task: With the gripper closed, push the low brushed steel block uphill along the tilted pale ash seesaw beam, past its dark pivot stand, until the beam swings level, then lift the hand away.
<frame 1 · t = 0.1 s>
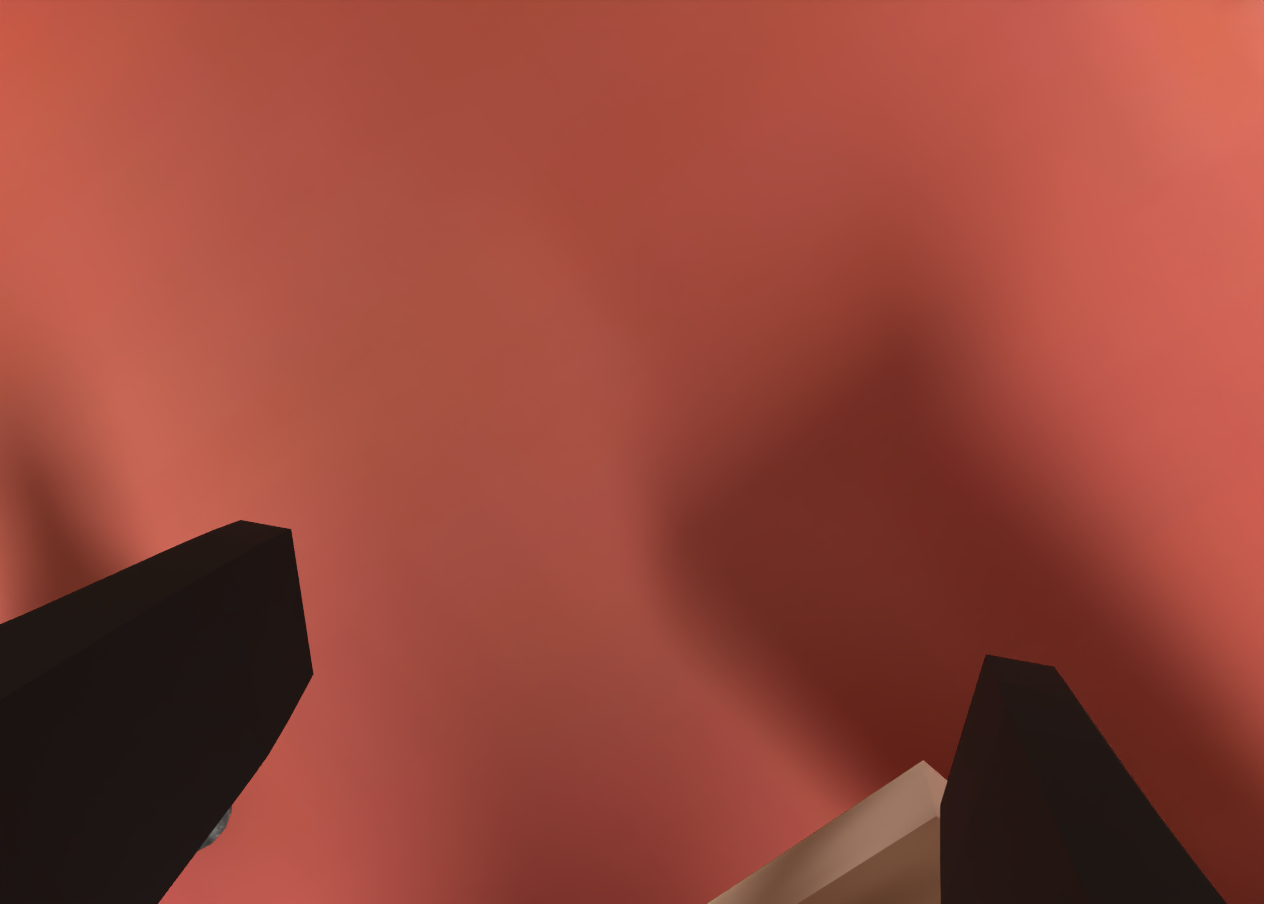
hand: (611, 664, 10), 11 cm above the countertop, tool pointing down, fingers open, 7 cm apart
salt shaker: (154, 771, 27), on the countertop
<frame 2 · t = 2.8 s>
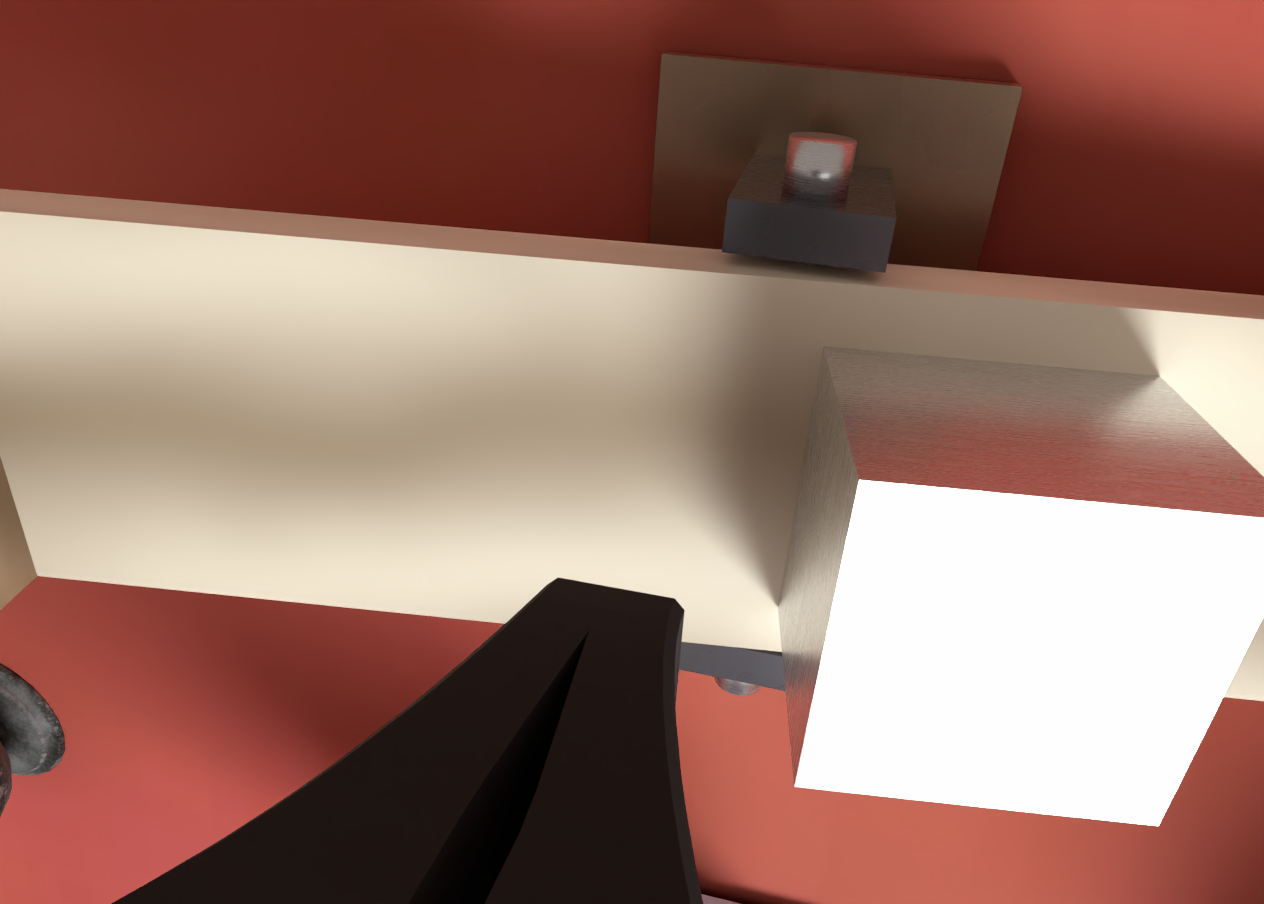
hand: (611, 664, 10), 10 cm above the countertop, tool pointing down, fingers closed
steel block: (952, 501, 15), point 4 cm above the countertop, tilted 8°, touching beam
beam: (855, 497, 15), point 4 cm above the countertop, hinge at 8.2°, touching steel block
pivot stand: (787, 382, 19), on the countertop
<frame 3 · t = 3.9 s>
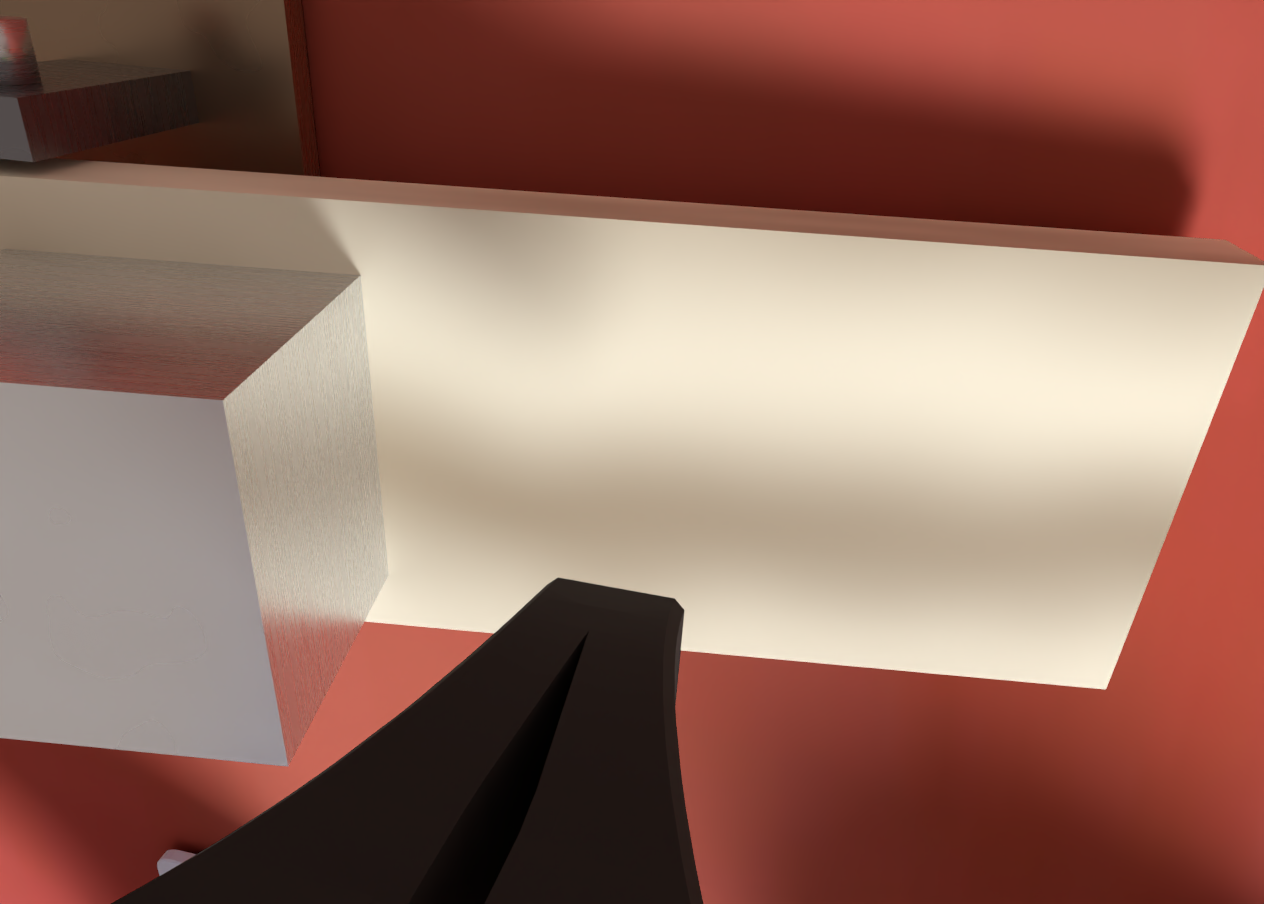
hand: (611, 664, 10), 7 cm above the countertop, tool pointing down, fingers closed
steel block: (211, 424, 14), point 4 cm above the countertop, tilted 8°, touching beam
beam: (102, 420, 14), point 4 cm above the countertop, hinge at 8.2°, touching steel block
pivot stand: (193, 316, 18), on the countertop
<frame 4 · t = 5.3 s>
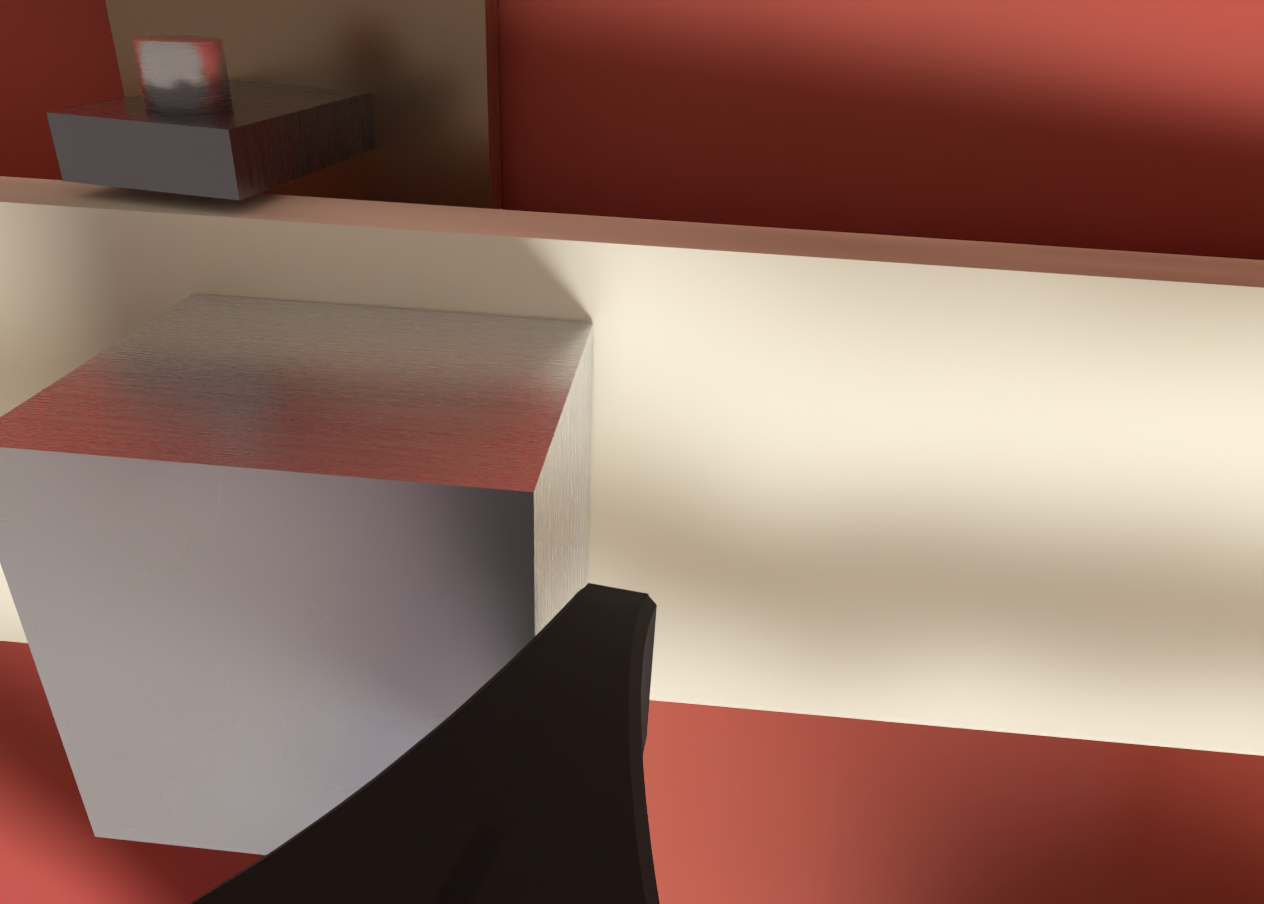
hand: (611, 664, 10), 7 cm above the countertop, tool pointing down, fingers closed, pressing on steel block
steel block: (405, 483, 13), point 4 cm above the countertop, tilted 8°, touching gripper
beam: (291, 480, 12), point 4 cm above the countertop, hinge at 8.2°
pivot stand: (344, 353, 16), on the countertop
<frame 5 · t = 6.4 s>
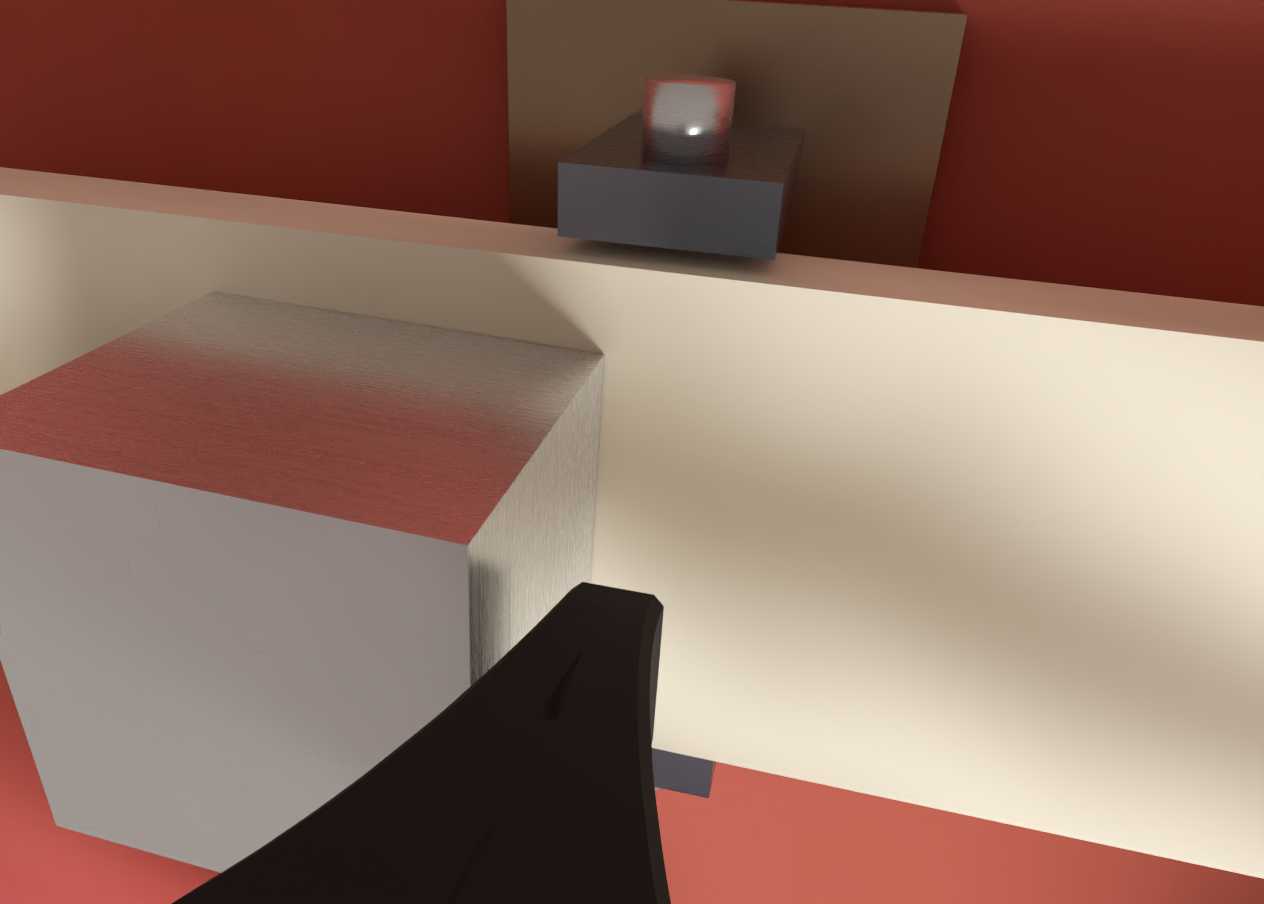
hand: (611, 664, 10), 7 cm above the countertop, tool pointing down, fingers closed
steel block: (410, 500, 12), point 4 cm above the countertop, touching beam, gripper
beam: (738, 564, 11), point 4 cm above the countertop, hinge at -0.6°, touching steel block
pivot stand: (696, 403, 15), on the countertop
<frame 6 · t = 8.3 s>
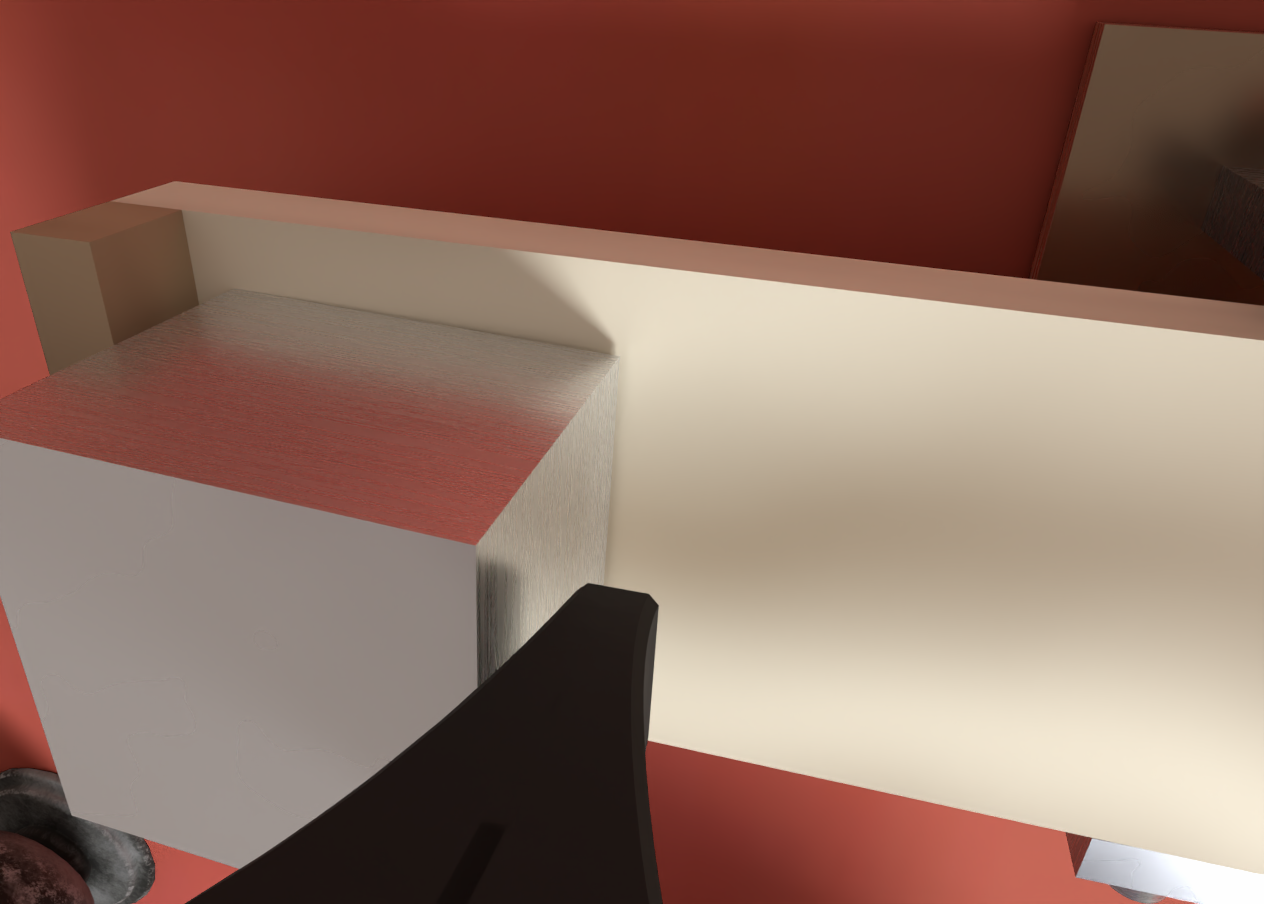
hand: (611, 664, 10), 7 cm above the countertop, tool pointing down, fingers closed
steel block: (425, 498, 12), point 4 cm above the countertop, touching beam, gripper
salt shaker: (74, 832, 26), on the countertop
pivot stand: (1192, 472, 14), on the countertop
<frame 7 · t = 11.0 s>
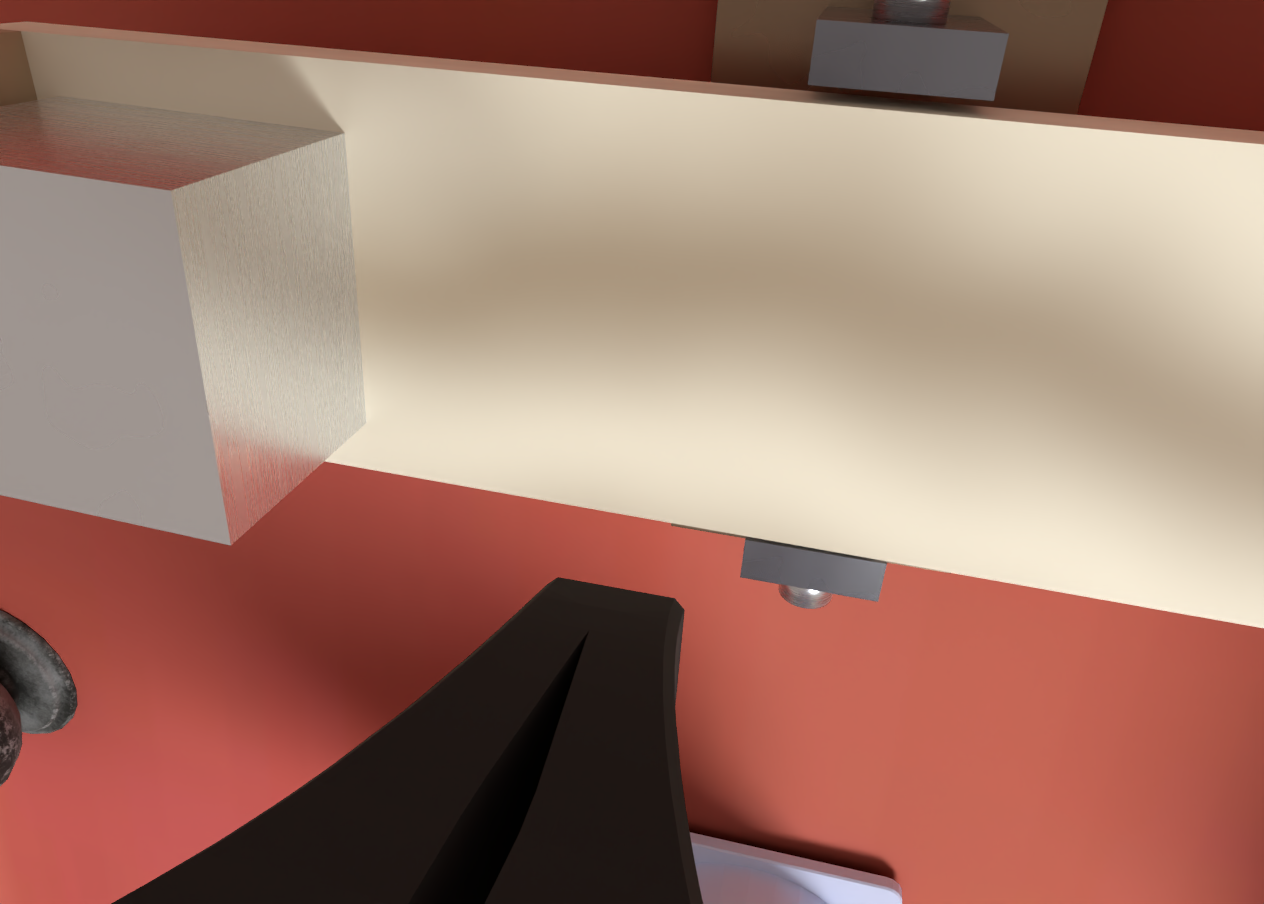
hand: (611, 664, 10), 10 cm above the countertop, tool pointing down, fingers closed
steel block: (221, 267, 16), point 4 cm above the countertop, touching beam
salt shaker: (7, 664, 29), on the countertop
beam: (936, 372, 13), point 4 cm above the countertop, hinge at -0.7°, touching steel block
pivot stand: (855, 273, 17), on the countertop
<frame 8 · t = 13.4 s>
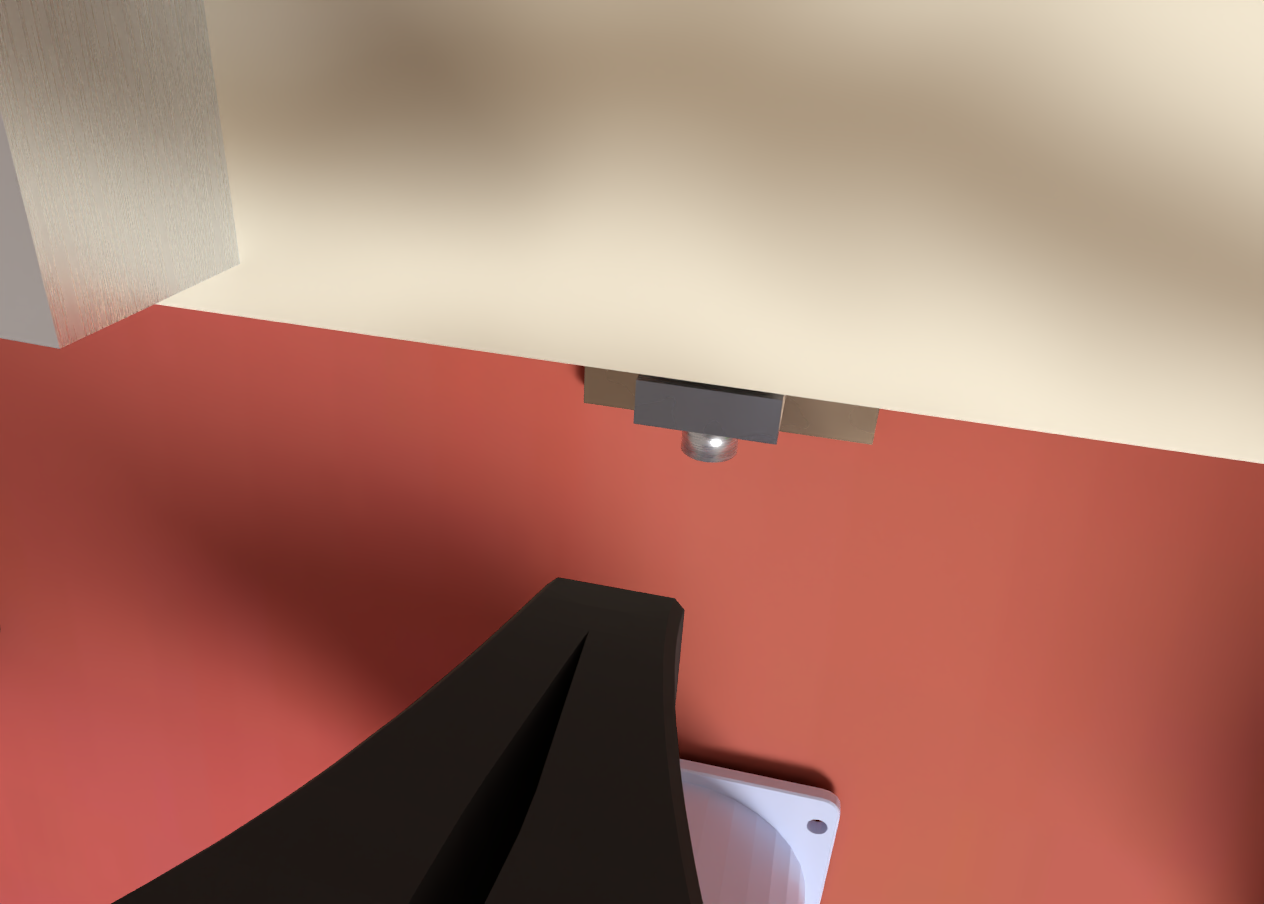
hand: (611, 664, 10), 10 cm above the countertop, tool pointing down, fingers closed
steel block: (80, 91, 15), point 4 cm above the countertop, touching beam
beam: (817, 167, 13), point 4 cm above the countertop, hinge at -0.7°, touching steel block
pivot stand: (760, 113, 17), on the countertop
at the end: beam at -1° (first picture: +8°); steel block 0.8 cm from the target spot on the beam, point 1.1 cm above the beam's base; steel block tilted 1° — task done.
